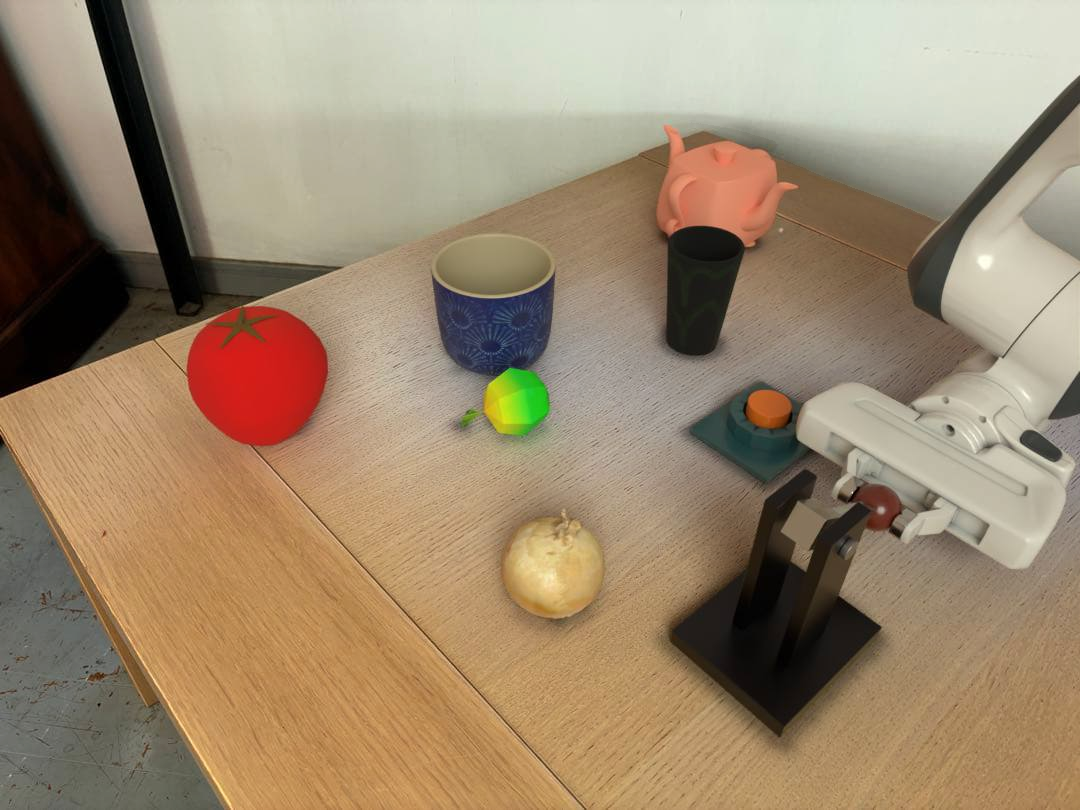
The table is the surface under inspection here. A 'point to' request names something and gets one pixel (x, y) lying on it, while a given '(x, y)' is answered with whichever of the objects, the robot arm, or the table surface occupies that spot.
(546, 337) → the planter
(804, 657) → the bracket
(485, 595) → the table surface
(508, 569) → the onion
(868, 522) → the lever
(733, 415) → the button box
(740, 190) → the teapot
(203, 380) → the tomato
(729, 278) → the cup
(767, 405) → the button
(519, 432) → the apple
